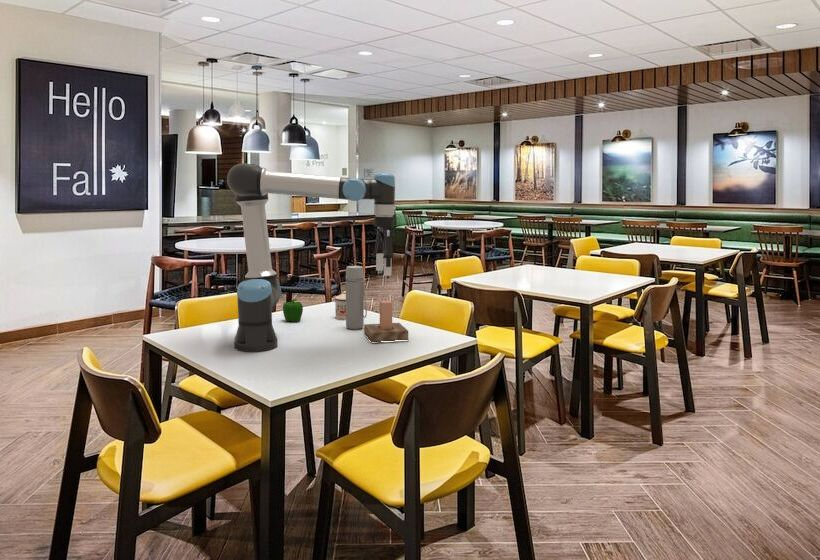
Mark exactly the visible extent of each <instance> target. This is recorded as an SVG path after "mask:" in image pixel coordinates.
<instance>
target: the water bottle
mask: <svg viewBox="0 0 820 560" xmlns="http://www.w3.org/2000/svg"><path fill="white" fill-rule="evenodd" d="M345 269H346V271H345V291H346V320H345V326H346V329H348V328H349V329H348V330H354V329H355V330H362V328H364V324H365V320H364V318H367V316H368V313H367V312H368V308H367V298H366V290H365V283H366V280H367V279H366V278H365V277H364V267H363V266H362V265H361V266H360V265H348V266H346V268H345ZM364 307H365V308H364ZM364 312H365V314H364Z"/></svg>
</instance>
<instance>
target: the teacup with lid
mask: <svg viewBox="0 0 820 560" xmlns="http://www.w3.org/2000/svg"><path fill="white" fill-rule="evenodd" d="M334 301H335V302H334V304H335V307H334V309H335V310H334V311H335V312H334V313H335V319H337V320H341V319H346V290H343V292H342V293H341V294H339V295H336V296H335V297H334Z"/></svg>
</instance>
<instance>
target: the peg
mask: <svg viewBox="0 0 820 560" xmlns="http://www.w3.org/2000/svg"><path fill="white" fill-rule="evenodd" d="M392 323H393V301H392V300H380V301H379V324H380V330H384V329H392Z"/></svg>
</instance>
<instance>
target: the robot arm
mask: <svg viewBox="0 0 820 560" xmlns="http://www.w3.org/2000/svg"><path fill="white" fill-rule="evenodd" d="M226 182H227V186H228V187H229V190H230V191H231V192H232V193H234V195H235V196H234V197H235V203H236V204H237V205H239V207H240V208H241V209H240V210H241V211H240V212H241V216H242V217H241V219H242V225H243V227H242V229H243V235H244V244H245V252H246V261H247V262H246V263H247V268H248V269H247V270H248V271H247V273H246V274H245V276H244V278H245V280H243V281H241V282H240V283H239V284H238V285H237V290H236V296H237V297H236V298H237V319H238V320H237V322H238V327H237V330H236V334H235V337H234V341H233V346H234V347H233V348H234V349H235V350H237V351H240V352H251V353H252V352H265V351H269V350H273V349H275V348H277V347H278V345H279V342H278V337H277V335H276V332H275V329H274V326H273V308H274V307H275V306H276V305H277V304H278V303H279V301H280V298H281V295H282V289H281V285H280V283H279V282H278V275H277V274H278V273H277V272H276V271H275V270H274V269H273V265H272V257H271V248H270V239H269V231H268V221H267V213H266V204H267V202H268V201H269V194H272V195H273V194H274V195H285V196H298V197H310V198H322V199H333V200H334V199H335V200H337V199H338V200H346V201H347V200H348V201H352V202H357V201H358V202H359V201H360V200H373V201H374V202H373V203H374V204H373V215H375V216H374V217H373V226H374V227H376V240H375V247H374V251H375V254H376V255H375V256H376V258H375V259H376V260H375V264H376V265H375V271H378V272H379V271H383V276H384V277H390V276H392V272H393V271H392V269H393V268H392V266H393V263H392V259H393V257H394V249H393V248H394V245H393V238H392V230H390V229H389V228H394V227H395V217H394V215H395V210H397V208H396V206H395V201H396V177H395V175H394V174H392V173H375V174H374V177H373V178H358V177H345V176H344V177H343V176H332V175H331V176H329V175H321V174H320V175H318V174H307V173H296V172H281V171H274V170H273V171H272V170H271V171H270V170H268V169H267V168H266V167H261V166H260V165H258V164H254V163H244V162H243V163H237V164H235V165H233V166H232V167H231V168H230V169H229V171H228V173H227V177H226Z"/></svg>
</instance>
